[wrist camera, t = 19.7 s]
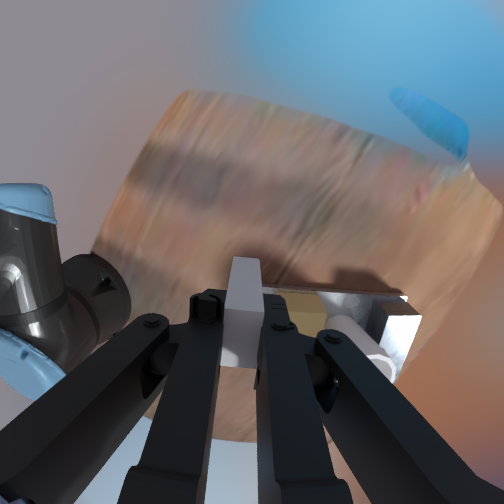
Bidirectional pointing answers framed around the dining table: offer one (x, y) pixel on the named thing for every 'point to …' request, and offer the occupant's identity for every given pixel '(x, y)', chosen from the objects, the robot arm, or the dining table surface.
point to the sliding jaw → (305, 312)
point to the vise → (368, 315)
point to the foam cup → (364, 344)
